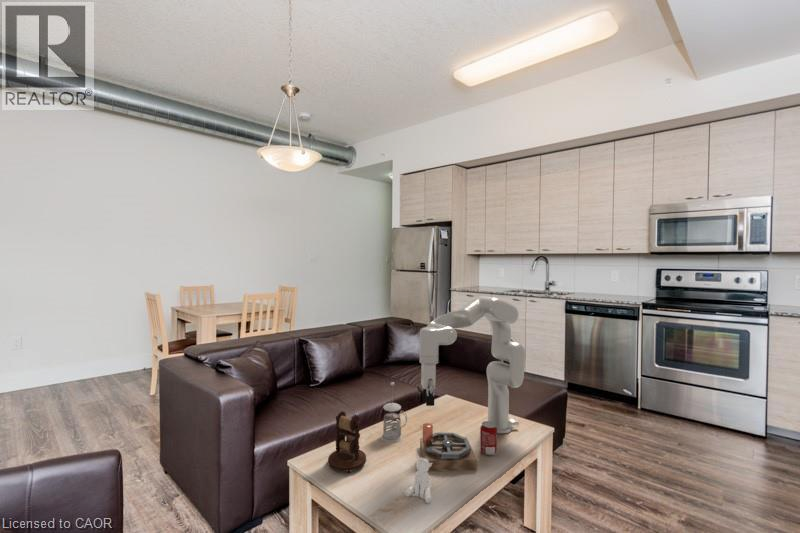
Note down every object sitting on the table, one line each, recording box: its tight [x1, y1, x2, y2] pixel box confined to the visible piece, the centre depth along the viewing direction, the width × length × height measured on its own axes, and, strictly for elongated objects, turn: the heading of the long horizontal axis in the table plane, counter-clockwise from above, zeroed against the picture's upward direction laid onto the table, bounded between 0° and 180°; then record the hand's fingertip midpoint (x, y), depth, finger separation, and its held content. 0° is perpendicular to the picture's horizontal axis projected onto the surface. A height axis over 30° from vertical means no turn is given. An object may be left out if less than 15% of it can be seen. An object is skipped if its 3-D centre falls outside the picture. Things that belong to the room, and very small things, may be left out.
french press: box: [380, 381, 408, 443], centre depth 170 cm, size 10×12×25 cm
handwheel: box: [422, 423, 472, 458], centre depth 153 cm, size 19×18×9 cm
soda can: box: [479, 420, 498, 456], centre depth 158 cm, size 7×7×12 cm
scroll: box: [327, 411, 367, 474], centre depth 148 cm, size 15×15×20 cm
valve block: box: [419, 436, 478, 472], centre depth 154 cm, size 20×18×4 cm
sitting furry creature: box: [403, 457, 432, 504], centre depth 131 cm, size 10×9×12 cm
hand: (428, 400), depth 153 cm, fingers open, 9 cm apart
